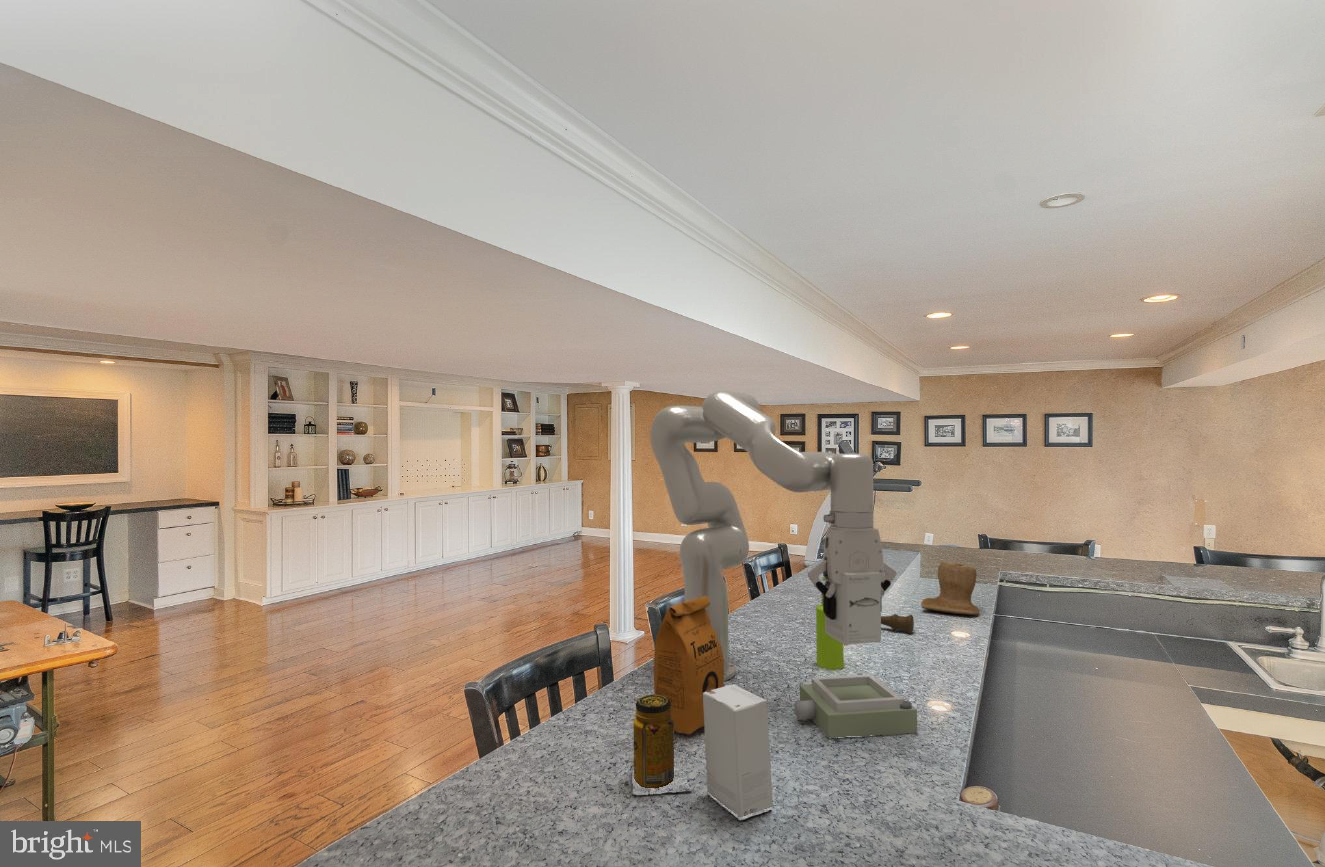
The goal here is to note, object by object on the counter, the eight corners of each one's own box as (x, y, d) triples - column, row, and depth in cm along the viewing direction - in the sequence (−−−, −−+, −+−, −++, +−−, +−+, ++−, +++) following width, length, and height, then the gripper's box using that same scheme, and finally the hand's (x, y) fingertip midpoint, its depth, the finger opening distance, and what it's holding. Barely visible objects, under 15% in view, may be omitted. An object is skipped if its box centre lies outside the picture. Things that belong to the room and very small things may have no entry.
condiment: (630, 771, 95) (629, 692, 96) (685, 768, 96) (684, 689, 96) (632, 797, 88) (632, 712, 88) (691, 794, 89) (691, 709, 89)
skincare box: (773, 811, 84) (772, 700, 85) (737, 825, 81) (736, 710, 82) (737, 782, 92) (735, 681, 92) (702, 794, 89) (701, 689, 89)
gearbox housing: (811, 740, 104) (811, 707, 105) (784, 706, 118) (784, 677, 119) (917, 732, 107) (916, 700, 107) (878, 700, 121) (878, 672, 121)
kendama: (911, 640, 160) (833, 628, 170) (915, 631, 169) (840, 620, 178) (911, 617, 161) (833, 606, 170) (915, 609, 169) (841, 599, 178)
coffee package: (733, 720, 113) (732, 598, 113) (687, 743, 104) (686, 611, 105) (693, 704, 120) (691, 590, 120) (646, 725, 111) (645, 601, 112)
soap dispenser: (849, 671, 137) (848, 580, 138) (817, 669, 138) (816, 579, 139) (847, 662, 143) (845, 575, 143) (816, 660, 144) (815, 574, 145)
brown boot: (981, 610, 187) (980, 560, 187) (976, 620, 177) (975, 567, 177) (928, 604, 195) (927, 556, 196) (920, 612, 185) (919, 562, 186)
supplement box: (845, 646, 109) (845, 574, 109) (824, 634, 116) (823, 566, 116) (882, 643, 110) (882, 572, 111) (859, 631, 118) (858, 564, 118)
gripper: (813, 524, 109) (814, 624, 108) (907, 522, 111) (908, 621, 111) (799, 519, 116) (799, 613, 116) (887, 517, 118) (887, 610, 118)
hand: (852, 616), depth 113 cm, fingers closed on supplement box, 7 cm apart
